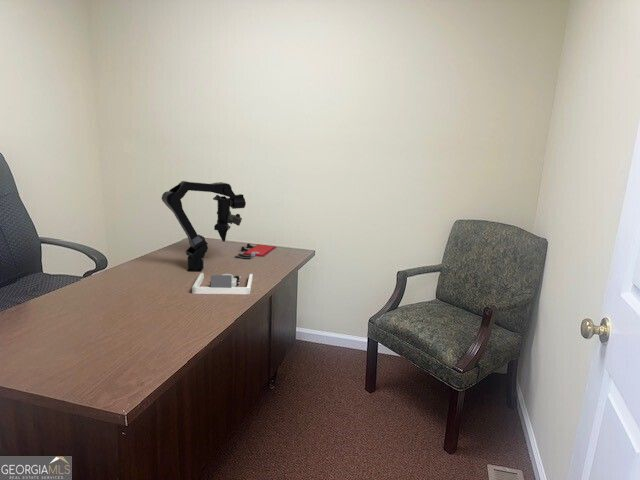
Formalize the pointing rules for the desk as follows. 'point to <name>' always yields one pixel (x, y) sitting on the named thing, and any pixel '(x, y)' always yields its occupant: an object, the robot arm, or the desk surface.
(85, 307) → the desk surface
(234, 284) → the robot toy
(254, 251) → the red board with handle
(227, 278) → the frame
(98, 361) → the desk surface
